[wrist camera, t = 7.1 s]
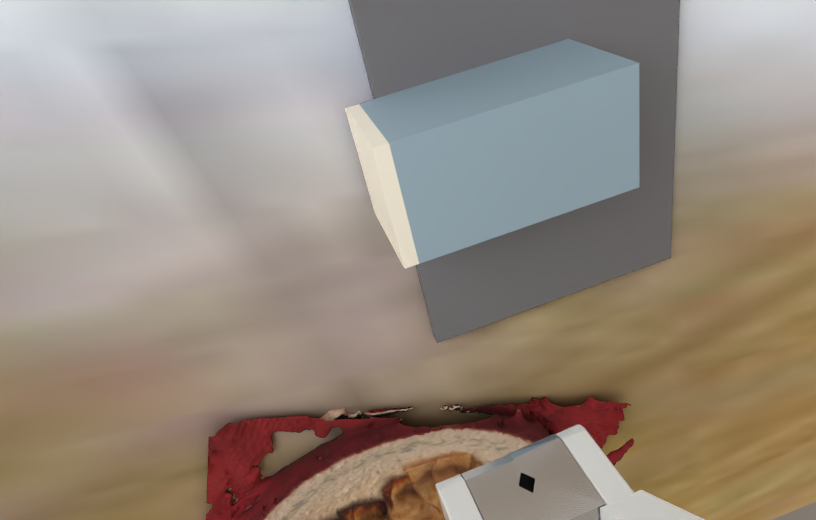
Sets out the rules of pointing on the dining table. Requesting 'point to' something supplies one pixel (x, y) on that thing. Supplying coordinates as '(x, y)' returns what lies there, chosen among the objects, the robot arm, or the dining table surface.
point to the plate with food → (380, 460)
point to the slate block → (499, 147)
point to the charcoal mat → (567, 233)
